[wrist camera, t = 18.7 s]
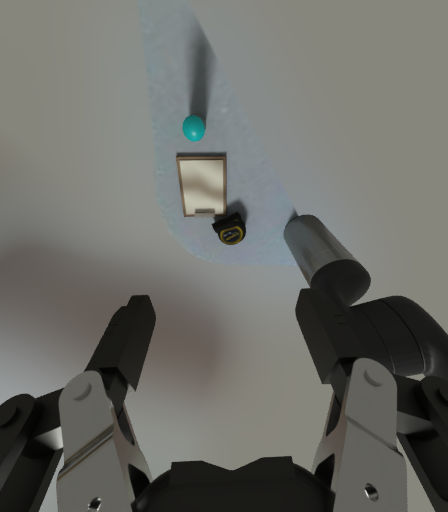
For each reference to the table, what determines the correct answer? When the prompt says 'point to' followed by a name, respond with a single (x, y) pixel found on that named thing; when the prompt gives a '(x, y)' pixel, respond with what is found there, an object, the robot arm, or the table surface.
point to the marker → (194, 127)
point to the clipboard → (202, 185)
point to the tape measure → (230, 229)
